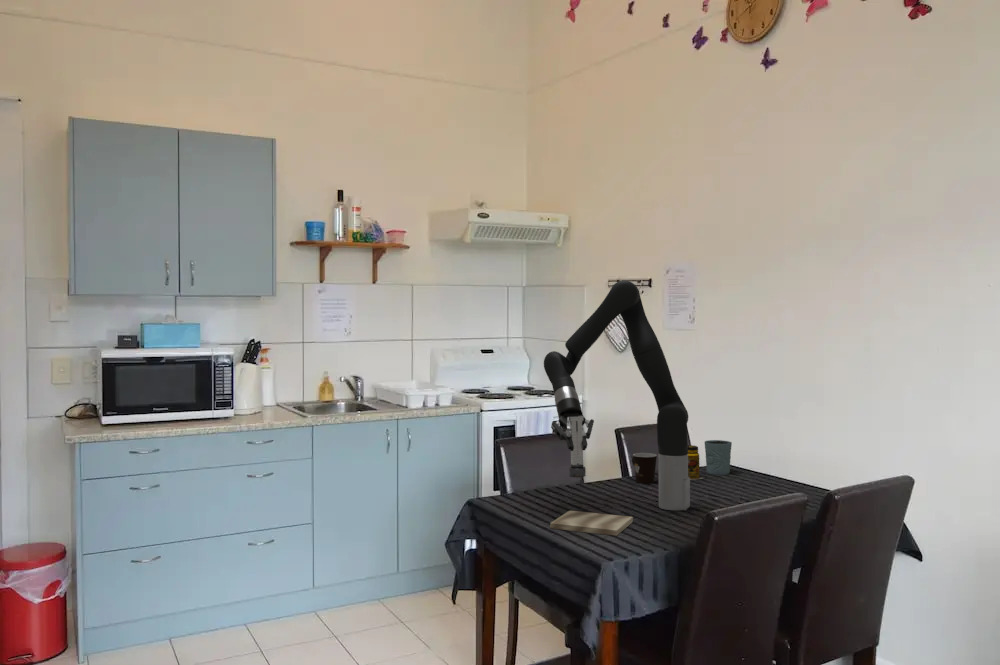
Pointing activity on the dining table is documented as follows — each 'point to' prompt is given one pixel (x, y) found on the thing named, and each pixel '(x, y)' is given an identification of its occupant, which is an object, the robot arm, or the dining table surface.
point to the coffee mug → (644, 467)
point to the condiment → (693, 463)
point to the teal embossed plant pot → (718, 457)
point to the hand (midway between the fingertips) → (578, 448)
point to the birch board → (592, 522)
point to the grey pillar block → (576, 447)
